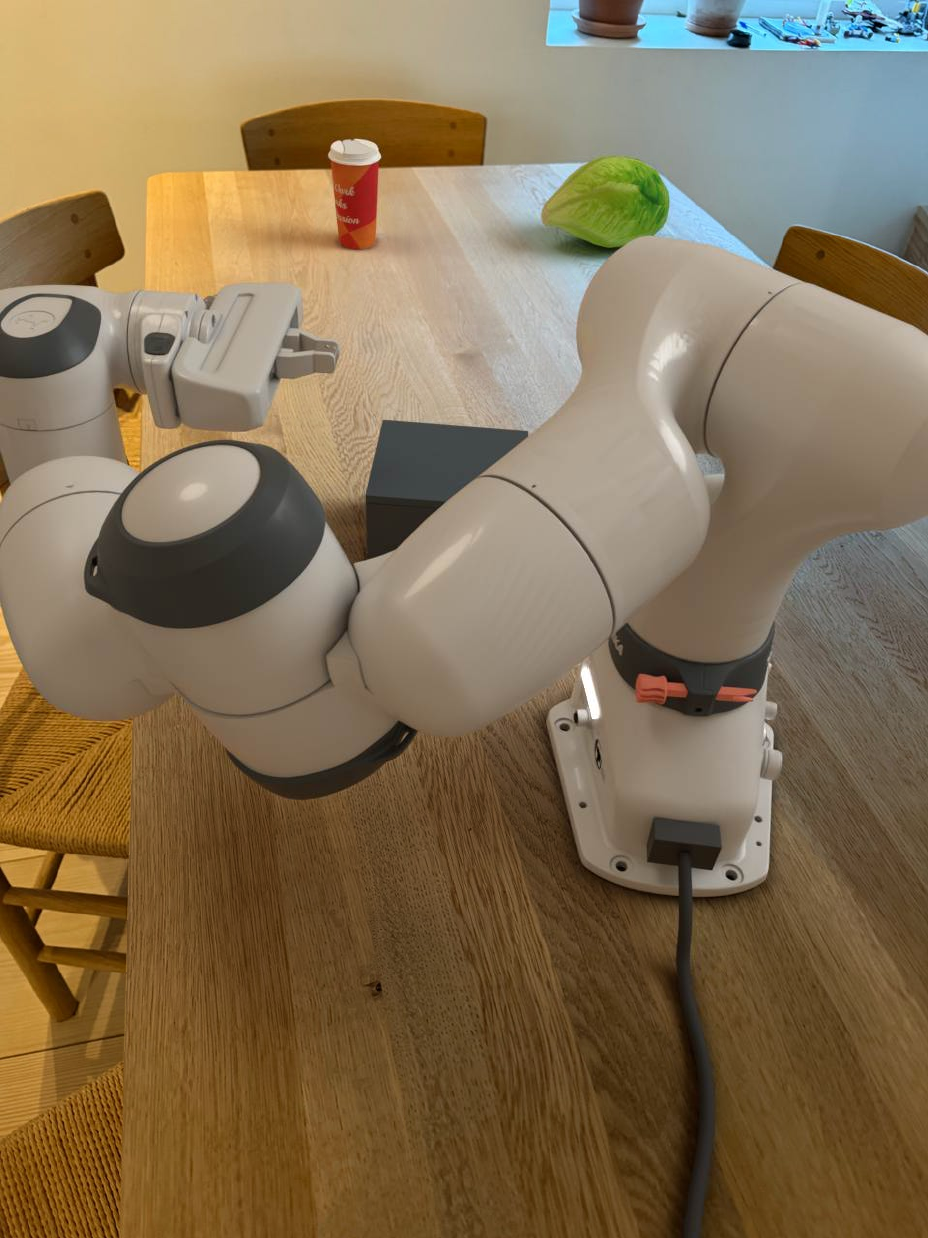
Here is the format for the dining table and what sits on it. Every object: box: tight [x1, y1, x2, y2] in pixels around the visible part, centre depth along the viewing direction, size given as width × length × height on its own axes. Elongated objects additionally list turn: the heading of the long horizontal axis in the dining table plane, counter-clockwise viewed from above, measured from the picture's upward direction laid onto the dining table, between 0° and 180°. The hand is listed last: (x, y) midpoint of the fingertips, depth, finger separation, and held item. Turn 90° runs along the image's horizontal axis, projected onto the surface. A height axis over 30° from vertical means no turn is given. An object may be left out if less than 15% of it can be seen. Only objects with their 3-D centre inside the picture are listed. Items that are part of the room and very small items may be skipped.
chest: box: [365, 502, 439, 560], centre depth 94 cm, size 14×13×9 cm
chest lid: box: [364, 419, 529, 508], centre depth 91 cm, size 14×13×1 cm
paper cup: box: [327, 138, 382, 250], centre depth 143 cm, size 8×8×14 cm
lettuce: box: [540, 155, 670, 249], centre depth 147 cm, size 15×20×14 cm
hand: (337, 356), depth 83 cm, fingers closed
